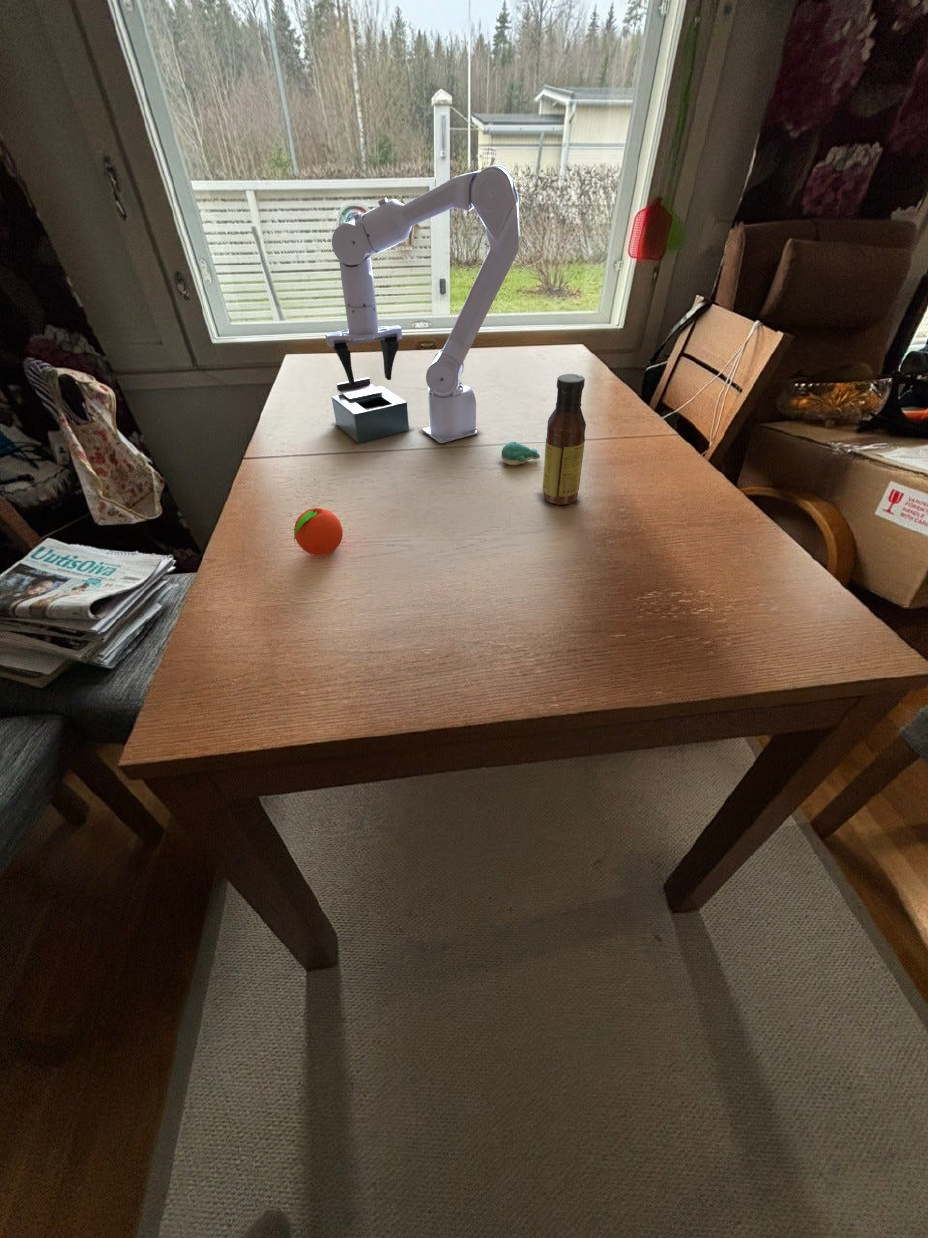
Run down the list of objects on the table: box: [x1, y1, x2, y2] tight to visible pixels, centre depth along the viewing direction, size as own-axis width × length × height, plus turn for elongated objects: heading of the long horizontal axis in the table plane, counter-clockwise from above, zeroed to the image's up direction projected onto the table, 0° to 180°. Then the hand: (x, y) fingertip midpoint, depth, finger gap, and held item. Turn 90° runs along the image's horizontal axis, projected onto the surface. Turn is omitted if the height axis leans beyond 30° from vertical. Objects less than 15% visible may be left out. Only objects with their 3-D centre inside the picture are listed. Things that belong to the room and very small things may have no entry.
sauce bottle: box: [541, 373, 587, 506], centre depth 81 cm, size 7×6×20 cm
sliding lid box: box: [331, 385, 410, 444], centre depth 109 cm, size 12×12×6 cm
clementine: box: [293, 507, 344, 557], centre depth 74 cm, size 8×7×7 cm
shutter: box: [335, 377, 382, 401], centre depth 109 cm, size 8×7×2 cm
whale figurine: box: [501, 441, 541, 466], centre depth 97 cm, size 6×7×4 cm
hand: (370, 381), depth 103 cm, fingers open, 7 cm apart
